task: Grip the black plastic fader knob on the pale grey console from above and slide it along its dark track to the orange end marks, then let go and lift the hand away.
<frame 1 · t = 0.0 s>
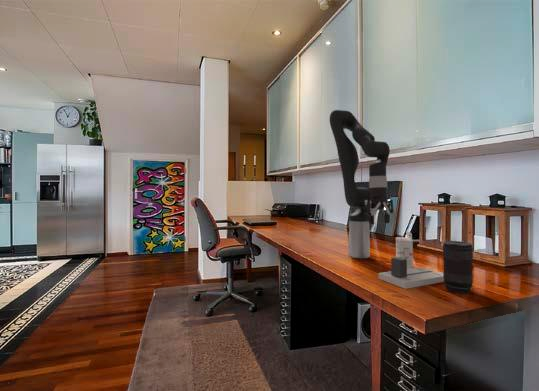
hand: (379, 223, 128), 17 cm above the table, tool pointing down, fingers open, 8 cm apart
fader console: (414, 279, 104), on the table
fader tab: (398, 267, 101), point 5 cm above the table, slide at -7.0 cm
camera lens: (457, 290, 93), on the table
ink cartridge box: (403, 267, 120), on the table
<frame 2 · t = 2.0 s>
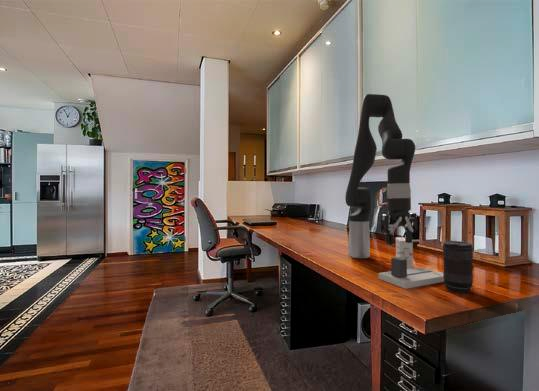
hand: (399, 243, 101), 13 cm above the table, tool pointing down, fingers open, 8 cm apart
nothing on the table moved.
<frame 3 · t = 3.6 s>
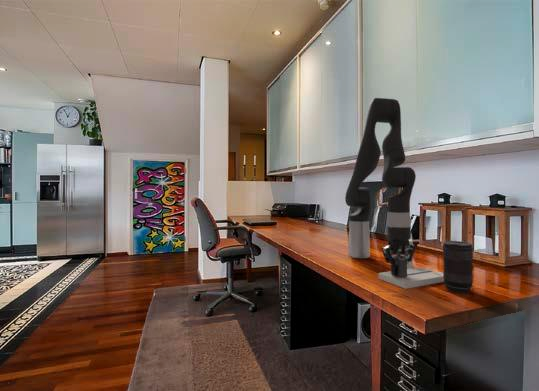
hand: (399, 274, 101), 3 cm above the table, tool pointing down, fingers closed on fader tab, 3 cm apart
fader tab: (399, 267, 101), point 5 cm above the table, slide at -7.0 cm, touching gripper
everything else where it was.
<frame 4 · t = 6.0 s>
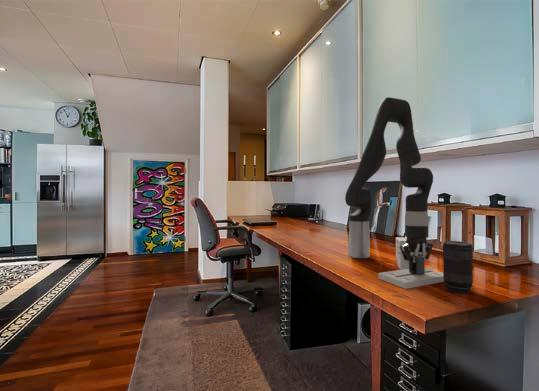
hand: (416, 271, 104), 3 cm above the table, tool pointing down, fingers closed on fader tab, 3 cm apart
fader tab: (416, 264, 104), point 5 cm above the table, slide at 1.3 cm, touching gripper
everything else where it was.
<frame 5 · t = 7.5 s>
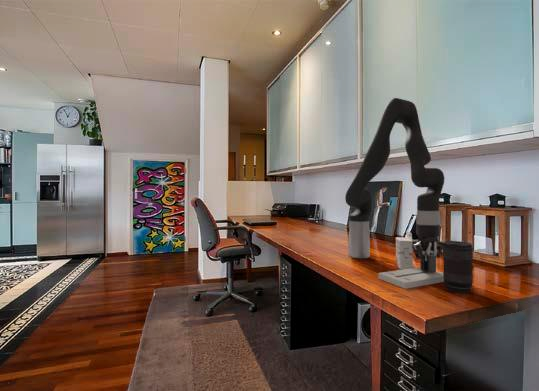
hand: (428, 270, 106), 3 cm above the table, tool pointing down, fingers closed on fader tab, 3 cm apart
fader tab: (428, 262, 106), point 5 cm above the table, slide at 7.0 cm, touching gripper
everything else where it was.
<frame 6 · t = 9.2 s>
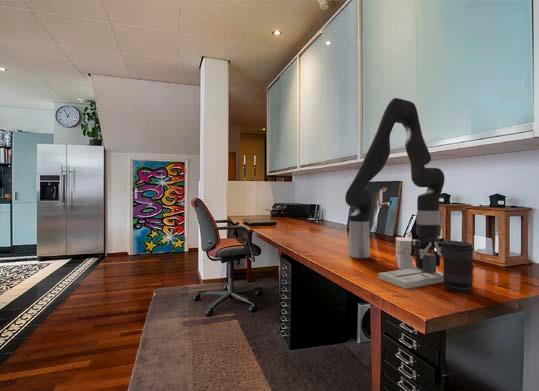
hand: (428, 267, 106), 4 cm above the table, tool pointing down, fingers open, 8 cm apart
fader tab: (428, 262, 106), point 5 cm above the table, slide at 7.0 cm
everything else where it was.
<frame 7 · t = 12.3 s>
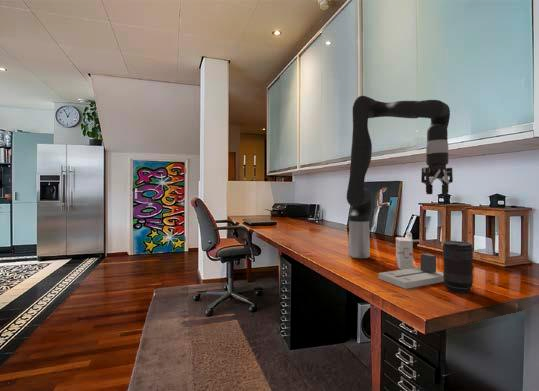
hand: (437, 194, 114), 30 cm above the table, tool pointing down, fingers open, 8 cm apart
nothing on the table moved.
at the end: fader tab slide at 7.0 cm; the gripper is holding nothing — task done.
